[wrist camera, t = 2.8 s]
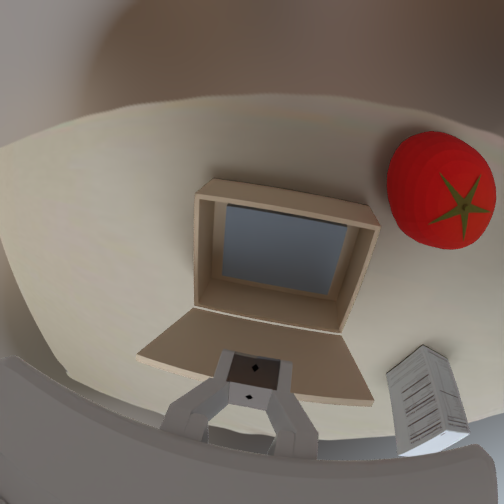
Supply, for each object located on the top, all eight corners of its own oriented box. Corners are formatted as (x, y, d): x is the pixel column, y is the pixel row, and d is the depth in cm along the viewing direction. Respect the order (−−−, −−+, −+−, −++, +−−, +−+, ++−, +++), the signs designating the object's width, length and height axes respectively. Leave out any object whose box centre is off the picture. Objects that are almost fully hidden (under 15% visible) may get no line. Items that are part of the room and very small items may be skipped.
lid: (374, 400, 17) (371, 407, 17) (341, 335, 31) (339, 341, 31) (136, 354, 19) (136, 361, 19) (193, 307, 33) (192, 313, 33)
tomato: (382, 118, 24) (419, 124, 15) (471, 142, 23) (525, 162, 14) (369, 215, 30) (393, 262, 21) (453, 228, 28) (494, 273, 19)
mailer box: (368, 205, 29) (381, 226, 24) (338, 302, 36) (341, 333, 31) (213, 178, 31) (194, 193, 26) (208, 278, 38) (194, 305, 33)
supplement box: (384, 373, 42) (394, 456, 28) (422, 343, 38) (445, 430, 23) (414, 385, 43) (426, 459, 29) (449, 358, 38) (471, 434, 24)
